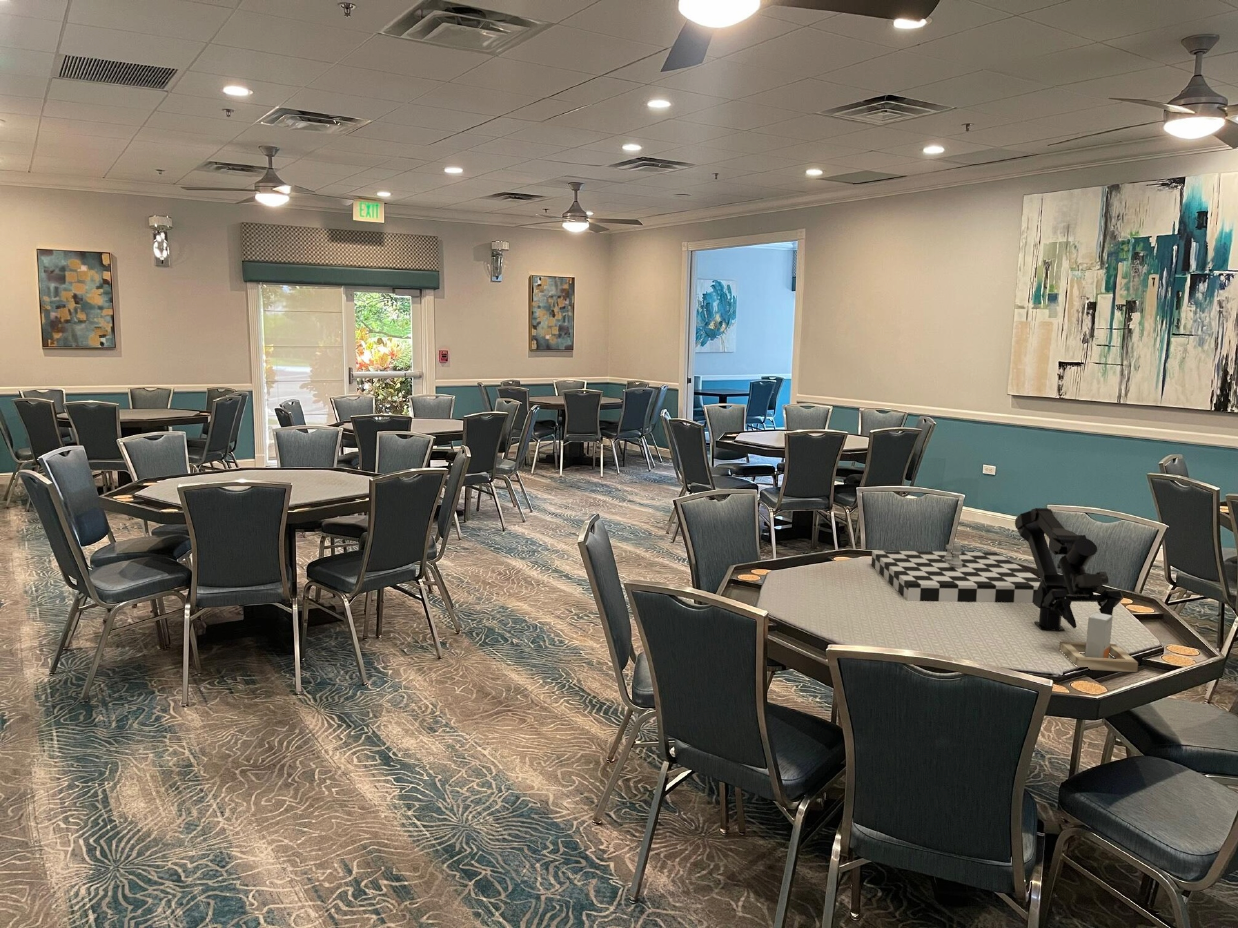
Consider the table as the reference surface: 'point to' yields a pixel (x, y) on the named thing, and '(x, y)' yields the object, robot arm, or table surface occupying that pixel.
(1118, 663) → the wooden picture frame
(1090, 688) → the table surface
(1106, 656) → the skincare box
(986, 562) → the checkerboard
